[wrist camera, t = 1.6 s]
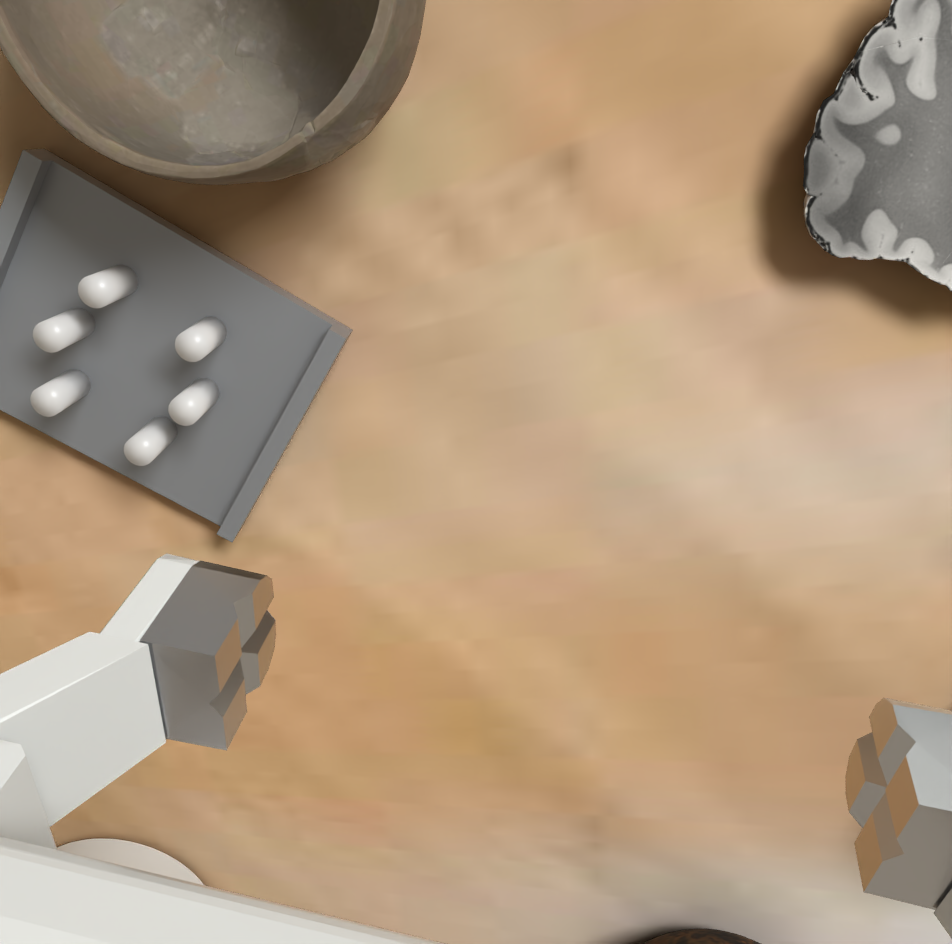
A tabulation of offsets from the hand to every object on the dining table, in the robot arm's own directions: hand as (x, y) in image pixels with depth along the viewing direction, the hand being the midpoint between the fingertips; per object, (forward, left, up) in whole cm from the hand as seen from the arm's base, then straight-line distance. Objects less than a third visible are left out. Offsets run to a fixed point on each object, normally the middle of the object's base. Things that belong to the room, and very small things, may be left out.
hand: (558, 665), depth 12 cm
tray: (-15, +15, -37) cm, 43 cm away
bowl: (+4, +18, -38) cm, 42 cm away
